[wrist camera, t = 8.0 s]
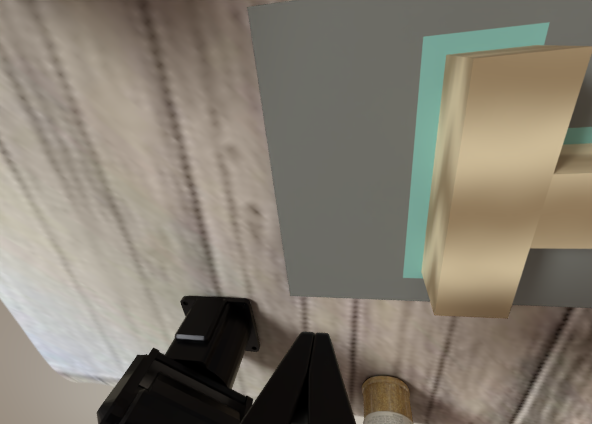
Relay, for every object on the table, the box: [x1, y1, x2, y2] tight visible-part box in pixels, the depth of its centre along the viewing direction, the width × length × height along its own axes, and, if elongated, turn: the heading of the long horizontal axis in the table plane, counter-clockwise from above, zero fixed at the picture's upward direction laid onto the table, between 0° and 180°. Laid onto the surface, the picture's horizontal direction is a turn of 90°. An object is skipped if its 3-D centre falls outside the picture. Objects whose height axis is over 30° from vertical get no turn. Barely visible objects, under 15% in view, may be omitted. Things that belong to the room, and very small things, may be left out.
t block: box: [421, 45, 592, 319], centre depth 16 cm, size 14×13×4 cm
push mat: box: [247, 0, 592, 308], centre depth 18 cm, size 20×24×1 cm
